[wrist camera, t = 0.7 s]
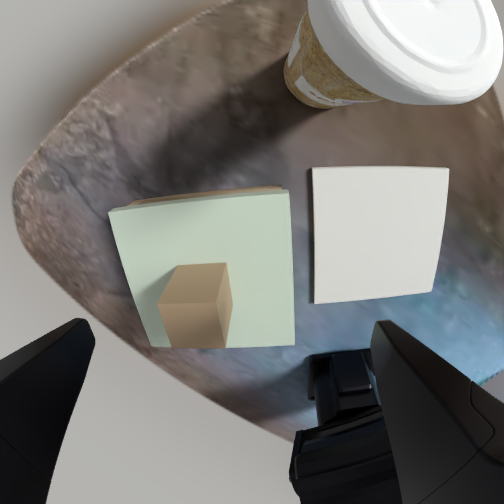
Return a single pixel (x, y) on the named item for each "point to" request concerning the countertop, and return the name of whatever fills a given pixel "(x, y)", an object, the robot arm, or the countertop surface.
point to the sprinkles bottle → (394, 52)
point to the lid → (210, 269)
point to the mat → (376, 230)
